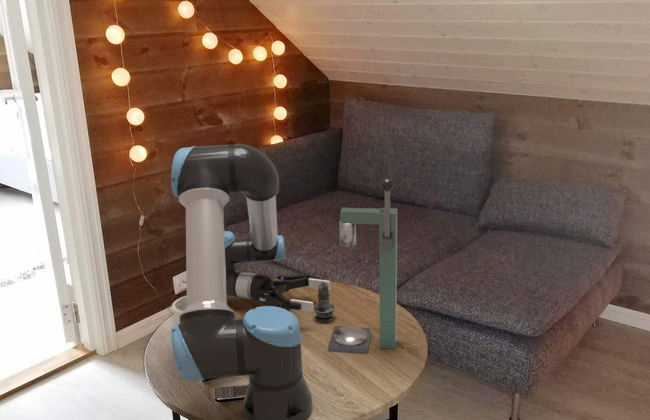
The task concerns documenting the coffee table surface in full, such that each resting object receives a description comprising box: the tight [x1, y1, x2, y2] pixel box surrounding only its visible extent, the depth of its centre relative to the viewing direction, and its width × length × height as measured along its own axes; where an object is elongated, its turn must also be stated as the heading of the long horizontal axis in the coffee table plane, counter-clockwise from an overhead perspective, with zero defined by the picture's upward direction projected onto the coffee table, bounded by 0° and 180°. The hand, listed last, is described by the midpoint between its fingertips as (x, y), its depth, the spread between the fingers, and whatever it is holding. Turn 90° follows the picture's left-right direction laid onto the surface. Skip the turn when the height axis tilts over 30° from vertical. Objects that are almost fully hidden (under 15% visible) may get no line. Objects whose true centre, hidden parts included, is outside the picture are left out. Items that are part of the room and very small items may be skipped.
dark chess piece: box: [313, 281, 335, 325], centre depth 162 cm, size 6×6×12 cm
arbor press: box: [327, 178, 398, 354], centre depth 144 cm, size 10×17×46 cm, turn 79°
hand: (321, 296), depth 163 cm, fingers open, 13 cm apart
